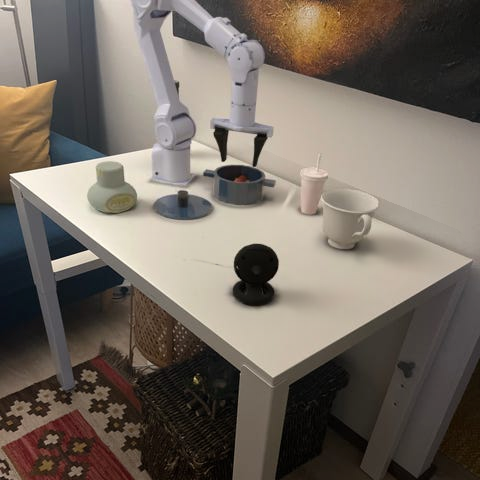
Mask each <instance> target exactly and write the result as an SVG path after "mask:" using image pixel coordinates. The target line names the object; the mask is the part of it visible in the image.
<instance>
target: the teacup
mask: <svg viewBox="0 0 480 480" xmlns="http://www.w3.org/2000/svg"><path fill="white" fill-rule="evenodd" d="M320 201H321V202H322V203H323V204H322V209H323V211H322V230H323V234H324V235H325V236H326V237H327V238H328V239H327V243H328V244H329V245H330V246H331V247H333V248H336V249H339V250H351V249H353V248H354V247H355V245H356V243H358V242H360V241H361V240H362V239H363V238H365V236H367V235H369V233H370V231H371V228H372V218H373V216H374V214H375V212H376V211H377V210H378V209H380V207H381V206H380V205H381V204H380V201H379V200H378V199H377V198H376V197H375V196H373V195H372V194H370V193H367V192H366V191H365V192H364V191H362V190H357V189H353V188H331V189H327V190H326V191H324V192H322V194H321V197H320Z"/></svg>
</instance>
